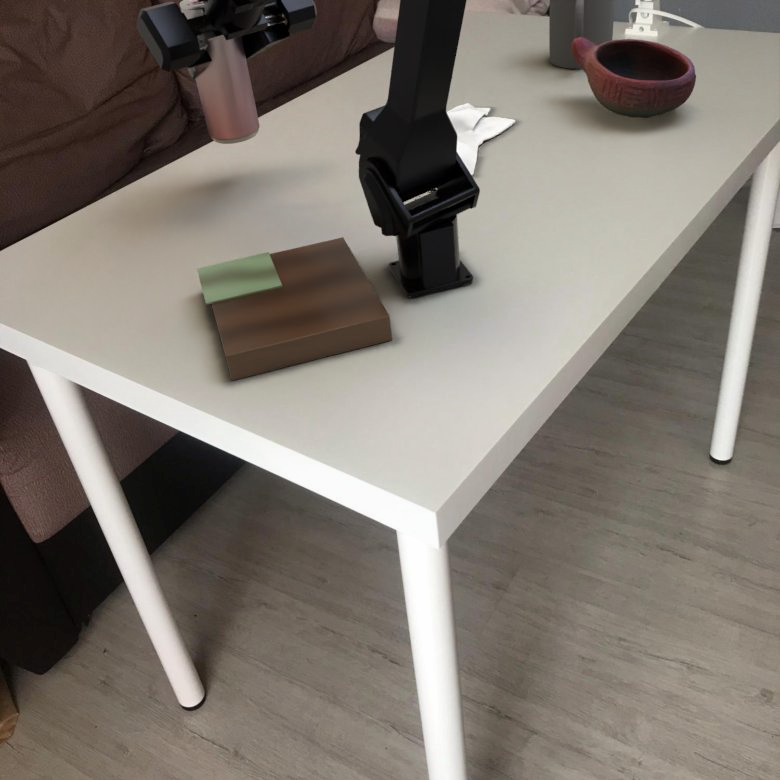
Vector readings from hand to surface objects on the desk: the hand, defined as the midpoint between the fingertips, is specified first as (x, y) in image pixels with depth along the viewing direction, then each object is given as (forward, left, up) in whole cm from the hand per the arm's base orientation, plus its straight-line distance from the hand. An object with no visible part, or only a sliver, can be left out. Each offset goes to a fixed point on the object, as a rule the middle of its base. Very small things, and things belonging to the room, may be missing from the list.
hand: (215, 67), depth 98 cm
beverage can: (-1, 0, -8) cm, 8 cm away
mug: (+16, -53, -14) cm, 57 cm away
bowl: (-5, -49, -14) cm, 51 cm away
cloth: (-3, -25, -14) cm, 29 cm away
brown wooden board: (-34, 0, -13) cm, 37 cm away
